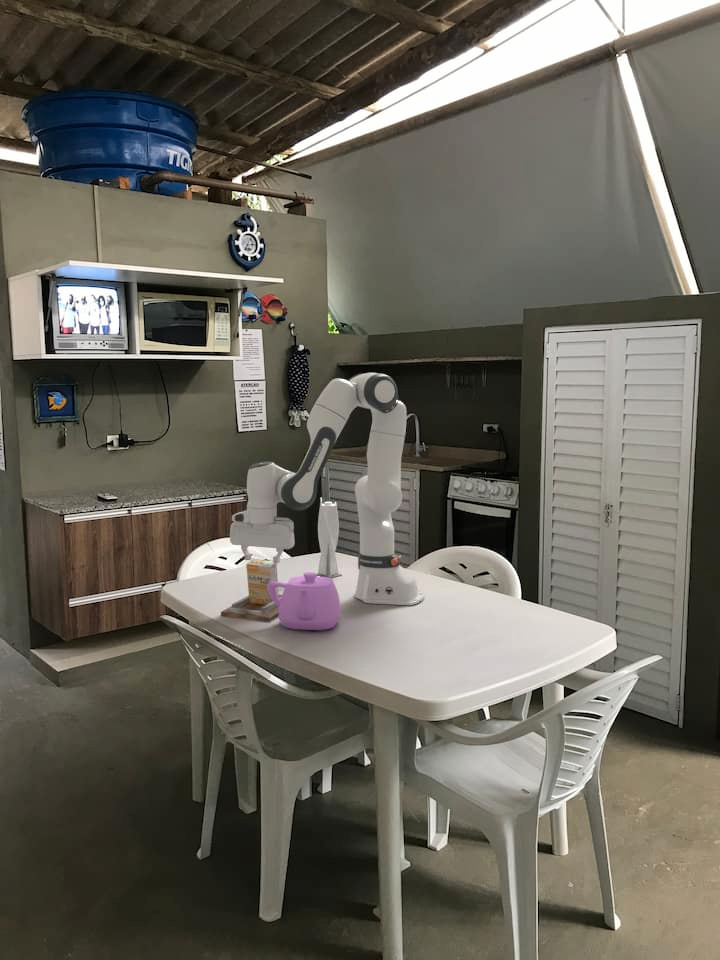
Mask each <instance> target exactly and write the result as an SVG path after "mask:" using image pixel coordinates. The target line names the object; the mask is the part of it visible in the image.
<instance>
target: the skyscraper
mask: <svg viewBox="0 0 720 960" xmlns="http://www.w3.org/2000/svg"><path fill="white" fill-rule="evenodd" d="M319 499H320V503H319V512H318V521H317V535H318V536H317V537H318V542H319V549H320V557H319V564H318V570H317V573H316V574H317V575H316V577H317V576H320V577H327V578H331V579H335V578H338V576H339V577H342V576H343V575H342V574H341V573H339V568H338V562H337V561H338V560H337V557H336V556H337V555H336V549H337V546H338V541H339V540H338V539H339V532H340V521H339V513H338V504H337V502H336V501H334V503H333V502H332V501H324V503H323V497H320V498H319ZM334 577H335V578H334Z"/></svg>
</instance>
